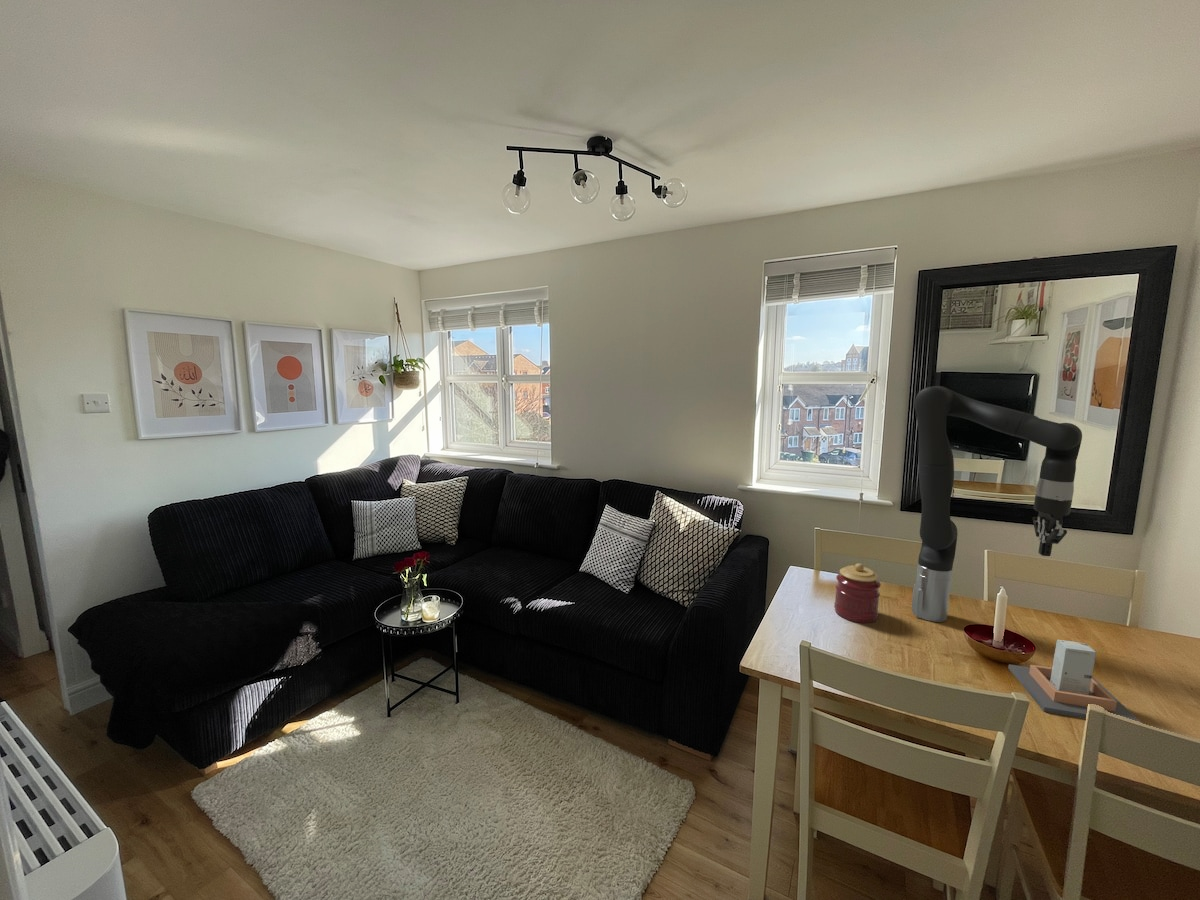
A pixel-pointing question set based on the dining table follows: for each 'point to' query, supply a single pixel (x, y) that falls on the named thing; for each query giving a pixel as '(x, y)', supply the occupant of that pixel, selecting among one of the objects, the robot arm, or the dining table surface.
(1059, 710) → the collar stand
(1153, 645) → the dining table surface
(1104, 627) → the dining table surface
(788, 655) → the dining table surface
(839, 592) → the canister
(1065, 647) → the skincare box
